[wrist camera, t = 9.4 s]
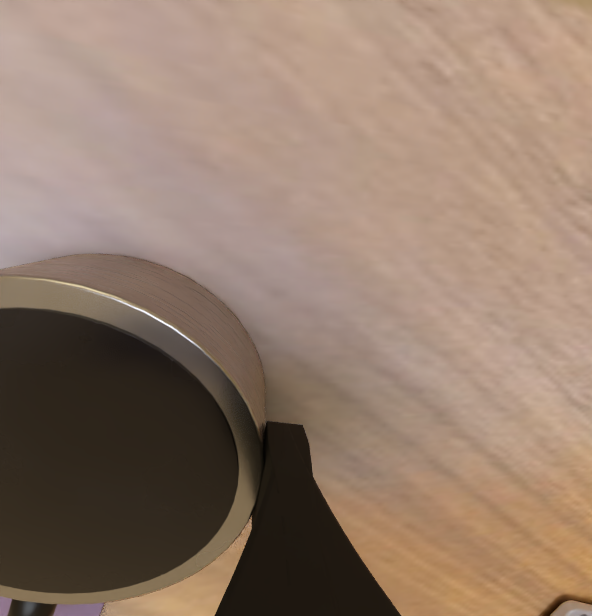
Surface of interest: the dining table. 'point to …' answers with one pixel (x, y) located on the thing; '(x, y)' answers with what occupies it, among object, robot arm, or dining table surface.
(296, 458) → the robot arm
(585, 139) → the dining table surface
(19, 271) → the pan
